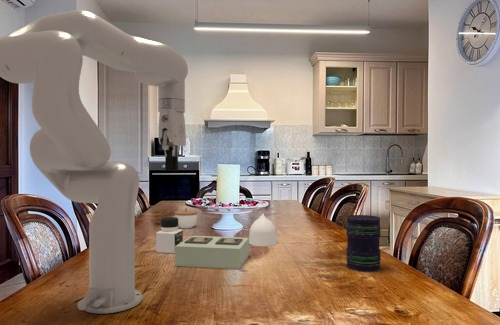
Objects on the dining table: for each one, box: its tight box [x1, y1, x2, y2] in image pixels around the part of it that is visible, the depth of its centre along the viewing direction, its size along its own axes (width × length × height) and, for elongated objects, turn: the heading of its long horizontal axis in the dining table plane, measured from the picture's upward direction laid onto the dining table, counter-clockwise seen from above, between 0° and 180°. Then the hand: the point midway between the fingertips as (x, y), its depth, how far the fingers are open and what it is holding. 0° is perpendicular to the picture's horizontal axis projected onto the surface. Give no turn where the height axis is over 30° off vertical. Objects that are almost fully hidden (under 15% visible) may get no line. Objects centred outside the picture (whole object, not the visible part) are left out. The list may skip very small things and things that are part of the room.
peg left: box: [193, 238, 205, 242], centre depth 118 cm, size 4×4×6 cm
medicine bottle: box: [155, 216, 184, 254], centre depth 130 cm, size 7×7×12 cm
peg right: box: [224, 239, 235, 243], centre depth 116 cm, size 4×4×6 cm
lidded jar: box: [174, 207, 198, 230], centre depth 176 cm, size 11×11×9 cm
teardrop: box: [248, 212, 278, 247], centre depth 142 cm, size 11×11×12 cm
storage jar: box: [345, 214, 382, 273], centre depth 109 cm, size 10×10×15 cm
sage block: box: [174, 235, 250, 270], centre depth 117 cm, size 16×20×6 cm
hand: (171, 170), depth 105 cm, fingers closed
